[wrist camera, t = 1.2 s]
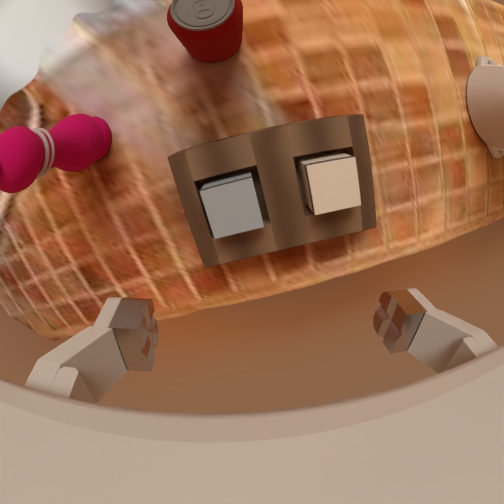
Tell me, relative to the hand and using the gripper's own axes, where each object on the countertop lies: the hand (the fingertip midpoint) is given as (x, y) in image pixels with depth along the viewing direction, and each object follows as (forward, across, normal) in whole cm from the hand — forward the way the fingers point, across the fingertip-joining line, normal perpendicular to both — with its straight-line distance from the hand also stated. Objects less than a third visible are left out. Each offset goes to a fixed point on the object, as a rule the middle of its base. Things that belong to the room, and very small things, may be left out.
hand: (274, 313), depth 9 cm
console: (+27, -5, +1) cm, 28 cm away
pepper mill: (+29, +19, -5) cm, 35 cm away
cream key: (+24, -10, -1) cm, 27 cm away
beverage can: (+28, +3, -17) cm, 33 cm away
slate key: (+25, 0, +3) cm, 25 cm away
